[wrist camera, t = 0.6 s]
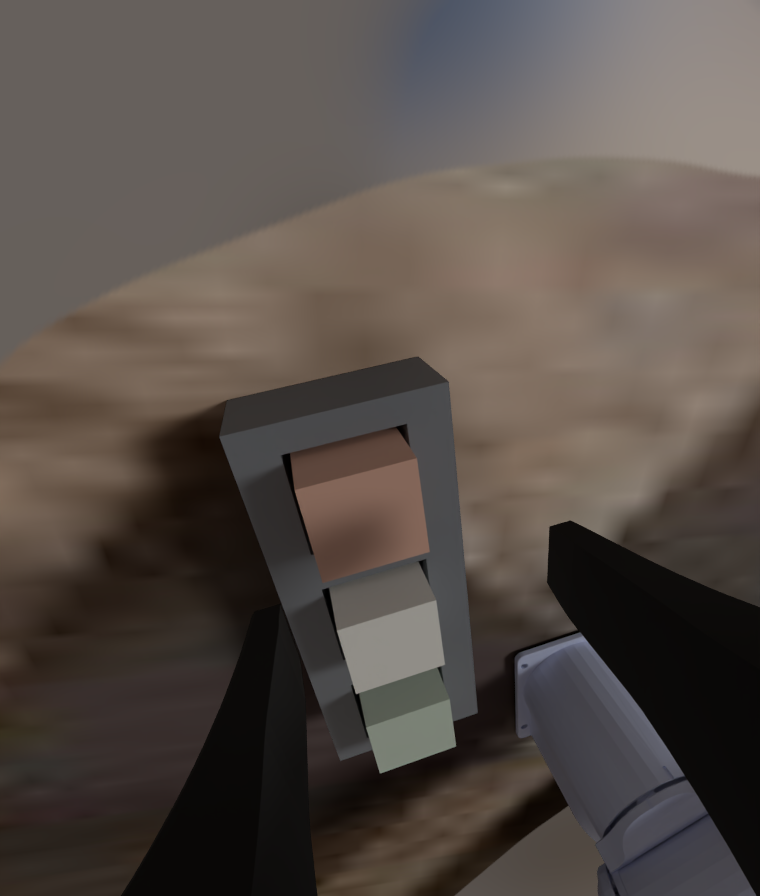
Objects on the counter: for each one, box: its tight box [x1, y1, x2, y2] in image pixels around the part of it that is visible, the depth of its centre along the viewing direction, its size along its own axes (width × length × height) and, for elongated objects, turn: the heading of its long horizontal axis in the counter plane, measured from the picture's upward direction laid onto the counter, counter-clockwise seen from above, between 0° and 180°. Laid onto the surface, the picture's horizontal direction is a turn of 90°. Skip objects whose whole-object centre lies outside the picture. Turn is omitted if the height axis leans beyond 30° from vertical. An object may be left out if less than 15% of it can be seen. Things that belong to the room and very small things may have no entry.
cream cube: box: [329, 561, 445, 694], centre depth 20 cm, size 4×4×4 cm
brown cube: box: [290, 427, 430, 583], centre depth 16 cm, size 4×4×4 cm
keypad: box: [219, 357, 478, 761], centre depth 21 cm, size 20×8×4 cm, turn 9°
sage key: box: [359, 668, 456, 773], centre depth 23 cm, size 4×4×4 cm
